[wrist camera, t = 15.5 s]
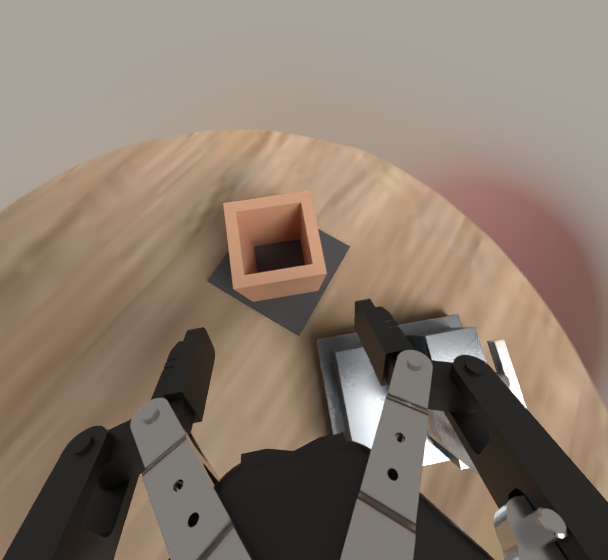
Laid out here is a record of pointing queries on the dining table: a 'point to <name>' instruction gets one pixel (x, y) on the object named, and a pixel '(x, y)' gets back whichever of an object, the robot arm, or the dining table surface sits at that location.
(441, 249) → the dining table surface
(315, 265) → the collar
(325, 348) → the vise
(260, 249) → the mat
